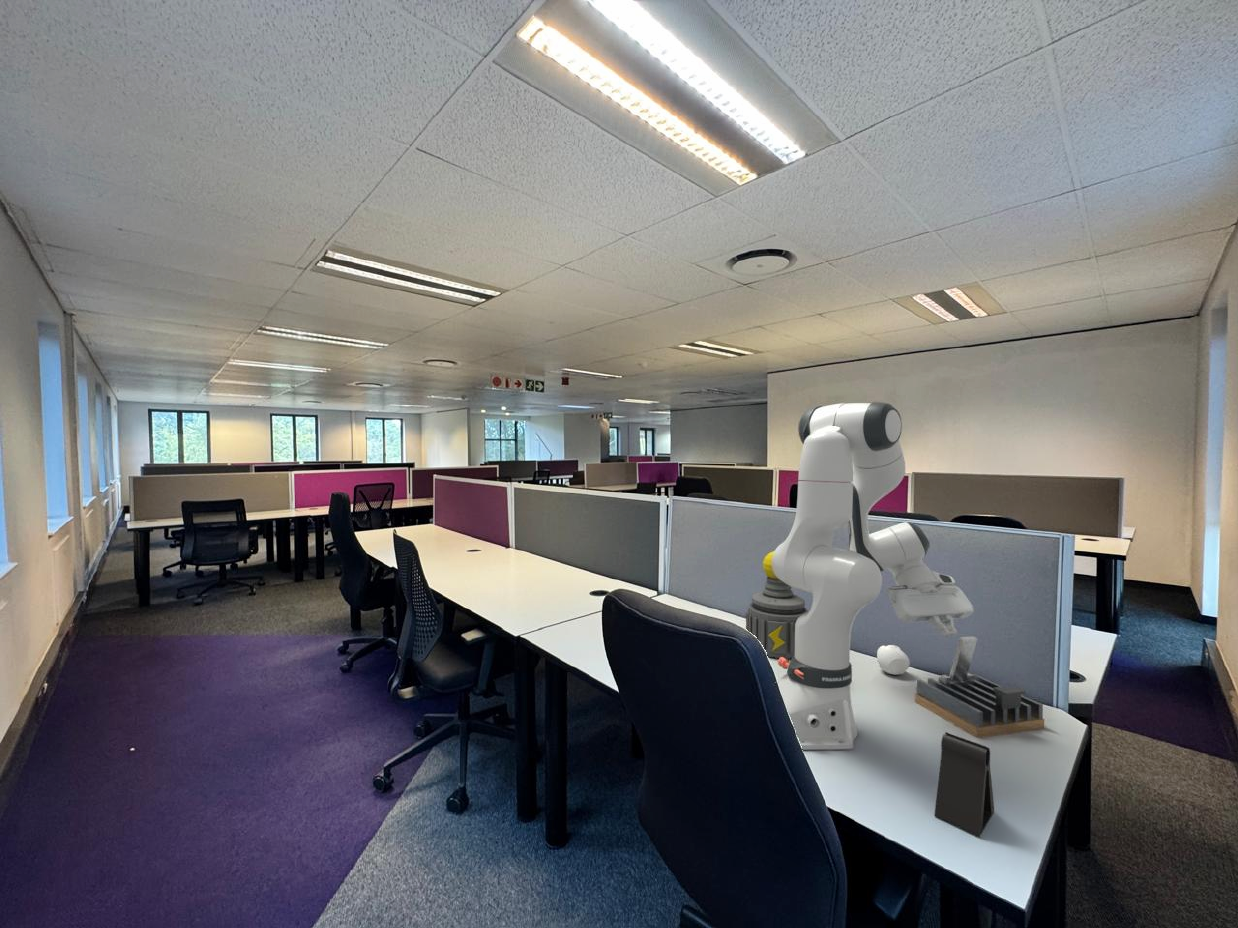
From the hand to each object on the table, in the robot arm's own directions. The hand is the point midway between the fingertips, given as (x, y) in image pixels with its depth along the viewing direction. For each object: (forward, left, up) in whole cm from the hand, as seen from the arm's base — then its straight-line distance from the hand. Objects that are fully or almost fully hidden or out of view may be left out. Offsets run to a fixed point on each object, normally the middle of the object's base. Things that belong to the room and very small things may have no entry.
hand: (950, 635), depth 120 cm
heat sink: (0, -7, -16) cm, 17 cm away
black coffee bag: (-32, -33, -16) cm, 49 cm away
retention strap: (0, -4, -5) cm, 6 cm away
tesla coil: (-23, +39, -16) cm, 48 cm away
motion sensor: (-2, +16, -16) cm, 23 cm away
